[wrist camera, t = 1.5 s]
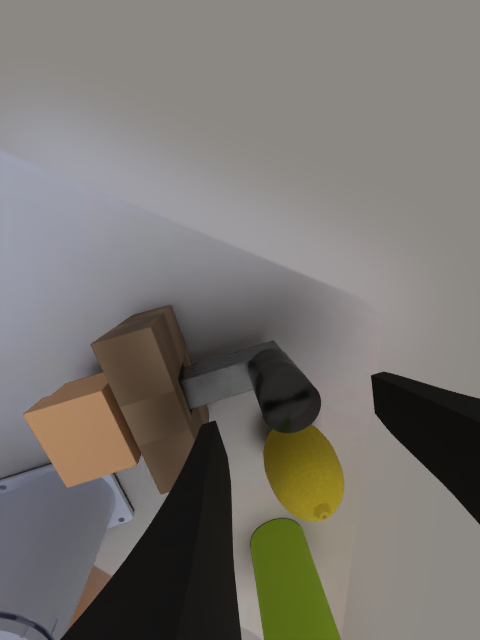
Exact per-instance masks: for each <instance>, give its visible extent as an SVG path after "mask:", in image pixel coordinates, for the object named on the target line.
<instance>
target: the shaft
mask: <svg viewBox="0 0 480 640" xmlns="http://www.w3.org/2000/svg"><path fill="white" fill-rule="evenodd" d="M178 382H179V384H180V387H181V390H182V392H183V395H184V397H185V400H186V403H187V405H188V408H189V409H192V408H196V407H199V406H202V405H205V404H209V403H212V402H215V401H218V400H221V399H225V398H228V397H231V396H234V395H237V394H241V393H244V392H247V391H250V390H253V389H254V391H255V394H256V397H257V400H258V403H259V405H260V408H261V411H262V414H263V417H264V419H265V421H266V423H267V424H268V426H270V427H271V428H272V429H273V430H275V431H277V432H281V433H295V432H299V431H301V430H303V429H305V428H307V427H308V426H309V425H311V424H312V423H313V422H314V420H315V419H316V417H317V416H318V414H319V411H320V408H321V398H320V395H319V392H318V391H317V389H316V388H315V387H314V386H313V385H312V383H311V382H310V381H309V380H308V379H307V378H306V376H305V375H304V374H303V373H302V372H301V371H300V369H299V368H298V367H297V366H296V365H295V364H294V362H293V361H292V360H291V359H290V358H289V357H288V355H287V354H286V353H284V352H283V351H282V350H281V349H280V348H279V346H278V345H277V344H276V343H275V342H274V340H273V341H270V342H266V343H263V344H260V345H256V346H253V347H250V348H246V349H243V350H240V351H236V352H233V353H230V354H226V355H223V356H220V357H216V358H213V359H210V360H206V361H203V362H200V363H196V364H193V365H190V366H186V367H183V368H181V370H180V373H179V377H178Z"/></svg>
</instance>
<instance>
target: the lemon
mask: <svg viewBox="0 0 480 640" xmlns="http://www.w3.org/2000/svg"><path fill="white" fill-rule="evenodd" d="M264 467H265V472H266V475H267V478H268V480H269V483H270V485H271V488H272V490H273V492H274V494H275V495H276V497H277V498H278V500H279V501H280V503H281V504H282V505H283V506H284V507H285V508H286V510H287V511H289V512H290V513H291V514H293V515H294V516H296V517H298V518H300V519H303V520H307V521H321V520H327V519H328V518H329V517H330V516H331V515H332V514H333V513H334V512H335V511H336V509H337V508H338V507H339V504H340V502H341V500H342V497H343V492H344V478H343V472H342V468H341V465H340V462H339V460H338V457H337V455H336V453H335V451H334V449H333V447H332V445H331V444H330V442H329V441H328V440H327V438H326V437H325V436H324V435H323V434H322V433H321V432H320V431H319V430H318V429H317V428H316V427H314V426H312V425H309V426H308V427H307V428H305V429H303V430H301V431H299V432H295V433H281V432H277V431H275V430H273V429H272V431H271V432H270V433H269V435H268V437H267V439H266V442H265V446H264Z"/></svg>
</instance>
